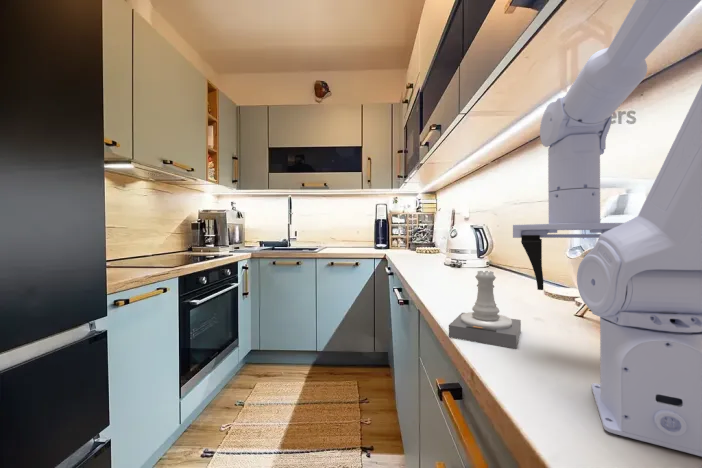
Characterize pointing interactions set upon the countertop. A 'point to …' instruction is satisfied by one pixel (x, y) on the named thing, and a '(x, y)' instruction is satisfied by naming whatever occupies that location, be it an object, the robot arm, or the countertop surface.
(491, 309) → the rook chess piece
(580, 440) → the countertop surface
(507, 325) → the kitchen scale
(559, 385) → the countertop surface
